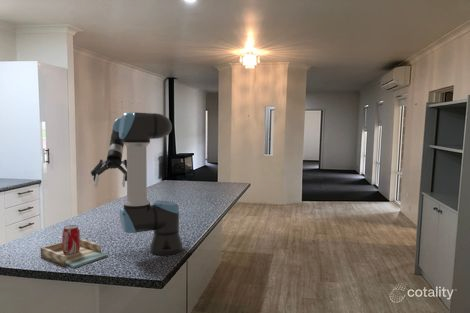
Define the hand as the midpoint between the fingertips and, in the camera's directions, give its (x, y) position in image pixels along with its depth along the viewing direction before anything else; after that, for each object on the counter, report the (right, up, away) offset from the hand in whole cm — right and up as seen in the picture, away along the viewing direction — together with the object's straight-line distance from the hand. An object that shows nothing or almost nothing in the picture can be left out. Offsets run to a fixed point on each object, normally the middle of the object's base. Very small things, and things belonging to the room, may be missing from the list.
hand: (109, 185), depth 175 cm
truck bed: (-8, -30, -20) cm, 37 cm away
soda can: (-11, -29, -18) cm, 36 cm away
